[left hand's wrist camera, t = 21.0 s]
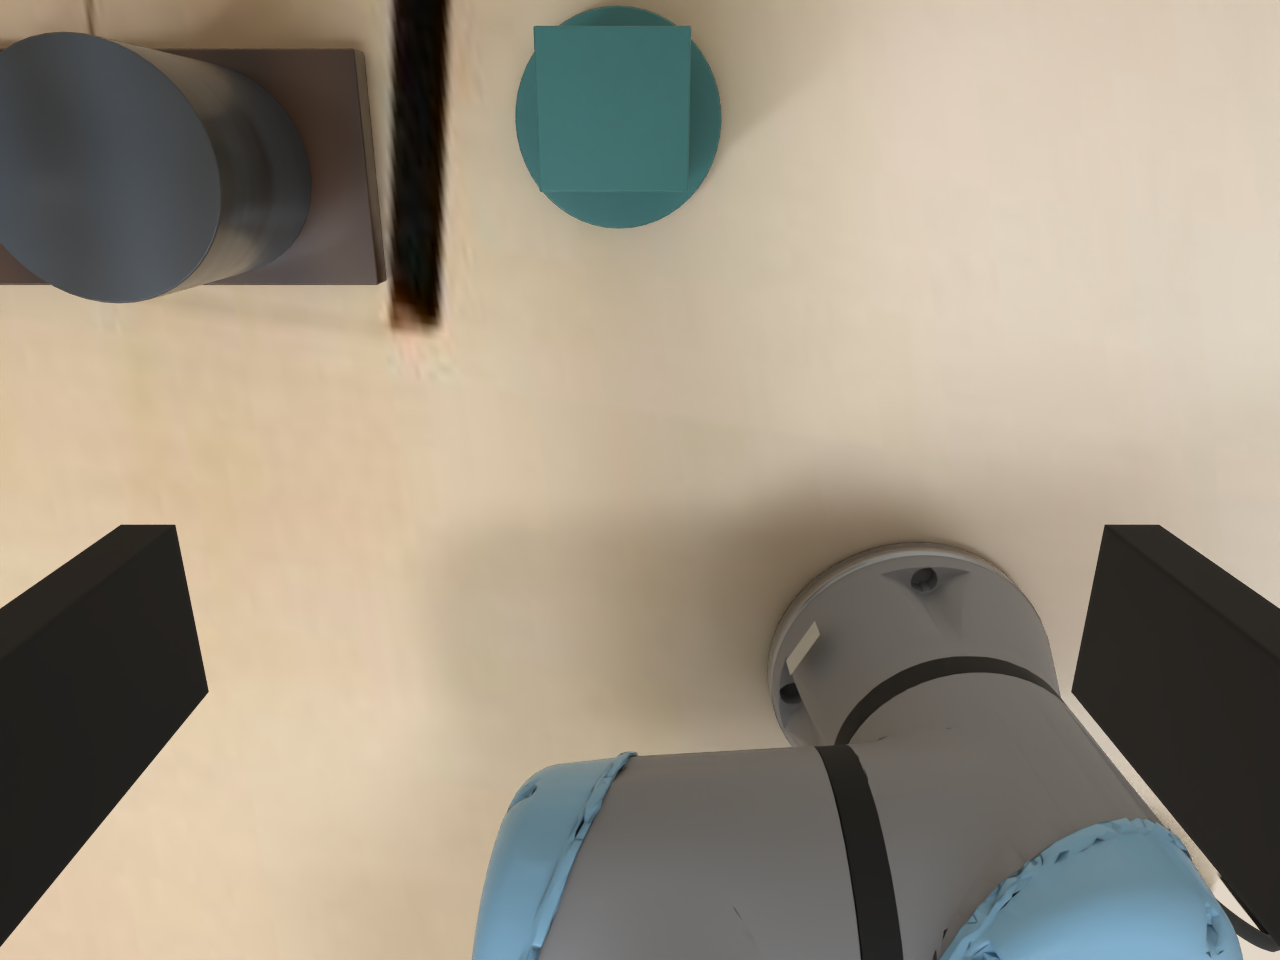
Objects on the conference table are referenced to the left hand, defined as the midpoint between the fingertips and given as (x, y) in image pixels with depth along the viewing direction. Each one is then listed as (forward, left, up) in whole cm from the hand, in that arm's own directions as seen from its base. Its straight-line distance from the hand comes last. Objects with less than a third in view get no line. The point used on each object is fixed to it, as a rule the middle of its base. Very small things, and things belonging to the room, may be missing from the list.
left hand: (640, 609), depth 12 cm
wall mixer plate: (+24, +14, -32) cm, 42 cm away
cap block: (+6, -5, -32) cm, 33 cm away
